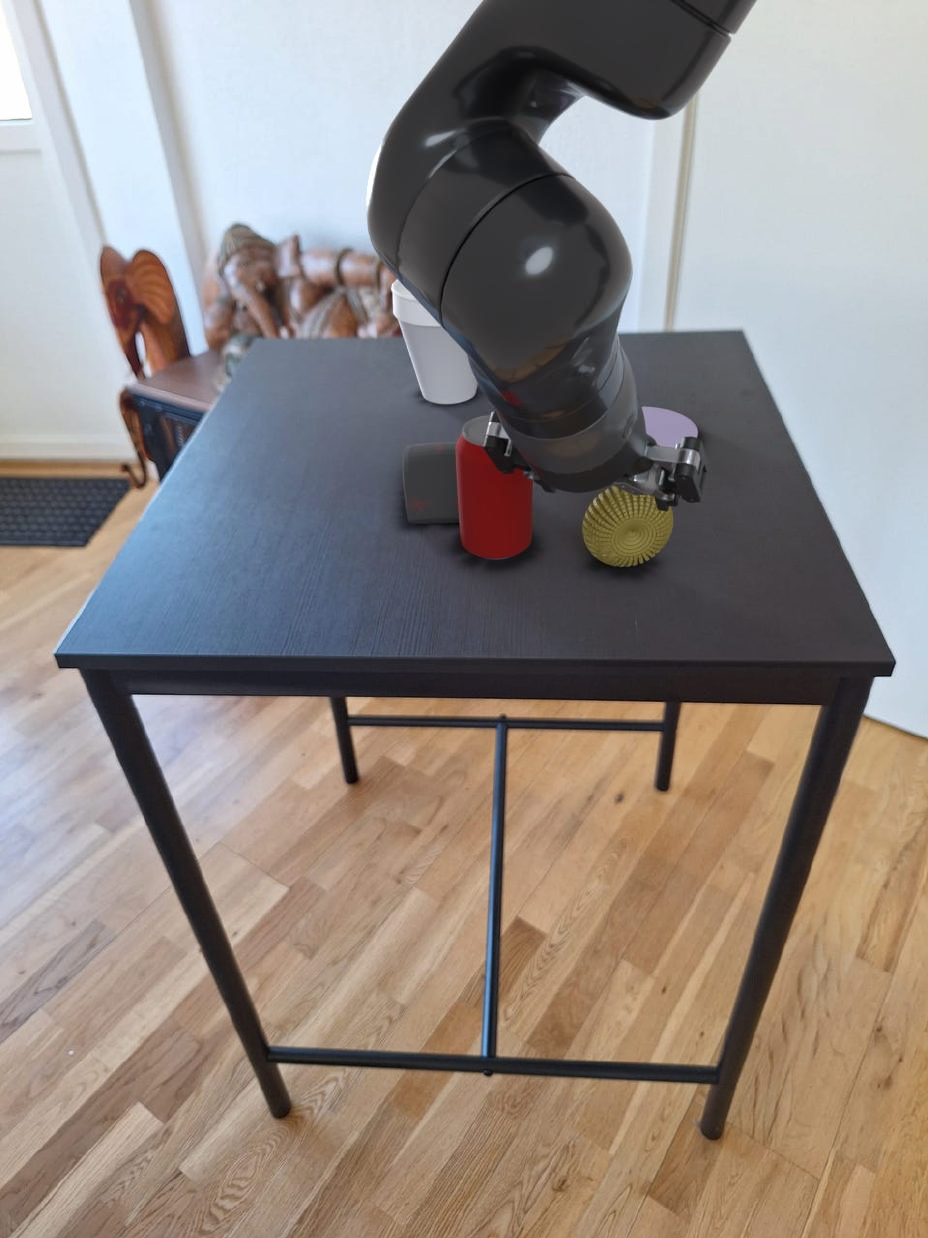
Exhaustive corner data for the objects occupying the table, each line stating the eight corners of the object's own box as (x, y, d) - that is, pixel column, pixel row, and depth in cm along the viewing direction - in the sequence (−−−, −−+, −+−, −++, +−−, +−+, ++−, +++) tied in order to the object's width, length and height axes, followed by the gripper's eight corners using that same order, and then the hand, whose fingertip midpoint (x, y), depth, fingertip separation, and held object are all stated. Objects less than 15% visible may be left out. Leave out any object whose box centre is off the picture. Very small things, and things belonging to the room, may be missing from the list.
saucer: (705, 421, 98) (706, 413, 97) (685, 469, 89) (687, 460, 88) (604, 408, 102) (604, 400, 101) (576, 453, 93) (576, 445, 92)
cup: (493, 413, 102) (490, 299, 93) (393, 413, 103) (381, 300, 95) (501, 373, 111) (499, 266, 103) (409, 373, 113) (400, 267, 104)
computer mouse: (481, 457, 93) (480, 424, 91) (481, 523, 82) (480, 487, 80) (408, 460, 93) (405, 427, 91) (399, 526, 83) (395, 490, 80)
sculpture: (660, 546, 78) (669, 469, 73) (674, 570, 75) (684, 492, 70) (575, 554, 77) (579, 478, 73) (585, 580, 74) (590, 501, 69)
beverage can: (533, 526, 82) (534, 411, 74) (530, 566, 76) (531, 446, 69) (464, 525, 82) (458, 410, 75) (457, 565, 77) (450, 445, 70)
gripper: (714, 356, 45) (717, 454, 60) (468, 331, 50) (529, 428, 65) (683, 490, 45) (694, 554, 60) (438, 453, 49) (506, 521, 65)
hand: (608, 488), depth 62 cm, fingers open, 8 cm apart
